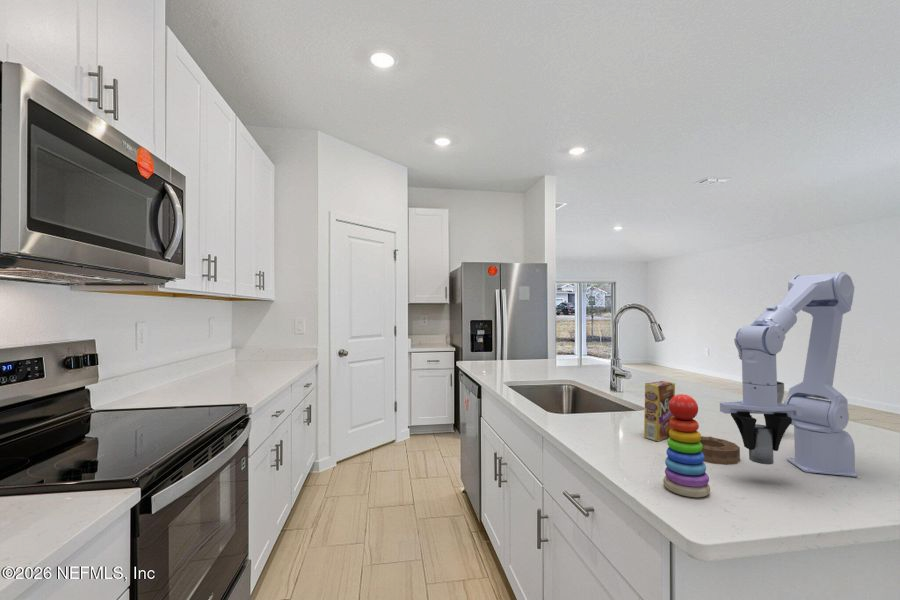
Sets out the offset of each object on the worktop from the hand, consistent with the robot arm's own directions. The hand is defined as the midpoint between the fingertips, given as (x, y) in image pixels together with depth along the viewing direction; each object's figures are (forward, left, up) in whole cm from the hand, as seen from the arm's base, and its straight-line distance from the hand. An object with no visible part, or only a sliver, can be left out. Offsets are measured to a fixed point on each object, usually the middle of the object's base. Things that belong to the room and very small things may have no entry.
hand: (760, 448), depth 83 cm
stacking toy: (+16, +9, -7) cm, 20 cm away
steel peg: (0, 0, -3) cm, 2 cm away
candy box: (+14, -26, -7) cm, 30 cm away
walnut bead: (+5, -14, -7) cm, 16 cm away
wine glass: (-16, -38, -7) cm, 42 cm away
